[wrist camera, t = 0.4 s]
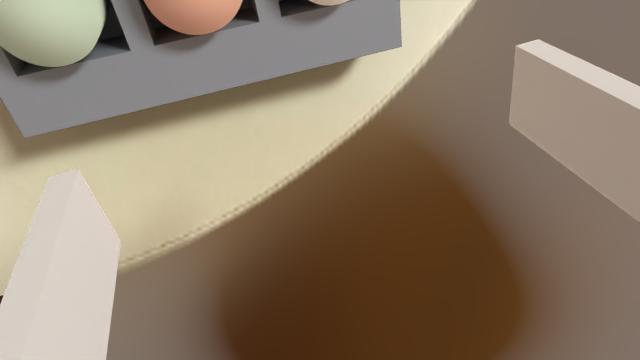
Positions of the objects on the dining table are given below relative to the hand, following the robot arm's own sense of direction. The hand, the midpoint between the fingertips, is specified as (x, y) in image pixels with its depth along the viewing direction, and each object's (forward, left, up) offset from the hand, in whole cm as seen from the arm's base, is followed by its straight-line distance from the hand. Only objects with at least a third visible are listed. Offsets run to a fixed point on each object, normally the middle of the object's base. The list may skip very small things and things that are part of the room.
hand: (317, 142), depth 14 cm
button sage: (-2, -11, -22) cm, 25 cm away
